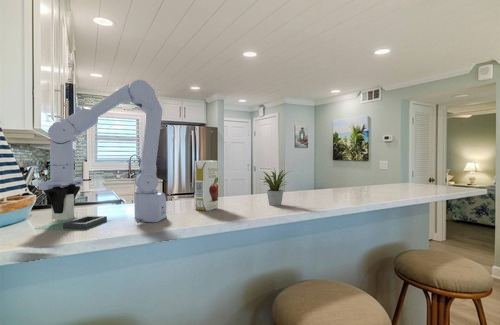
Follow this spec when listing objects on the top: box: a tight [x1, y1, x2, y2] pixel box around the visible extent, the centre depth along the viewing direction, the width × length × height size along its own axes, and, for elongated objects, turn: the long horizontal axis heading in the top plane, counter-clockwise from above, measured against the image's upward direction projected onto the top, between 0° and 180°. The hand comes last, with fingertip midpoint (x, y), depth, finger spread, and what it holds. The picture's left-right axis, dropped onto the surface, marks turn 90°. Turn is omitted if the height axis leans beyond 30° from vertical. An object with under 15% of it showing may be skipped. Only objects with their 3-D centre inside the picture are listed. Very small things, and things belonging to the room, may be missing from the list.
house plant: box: [262, 168, 292, 207], centre depth 121 cm, size 14×14×16 cm
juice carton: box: [194, 160, 219, 212], centre depth 110 cm, size 8×9×19 cm
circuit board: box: [34, 215, 113, 231], centre depth 81 cm, size 15×12×2 cm
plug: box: [51, 194, 75, 221], centre depth 82 cm, size 5×3×7 cm, turn 85°
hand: (63, 212), depth 82 cm, fingers closed on plug, 3 cm apart
